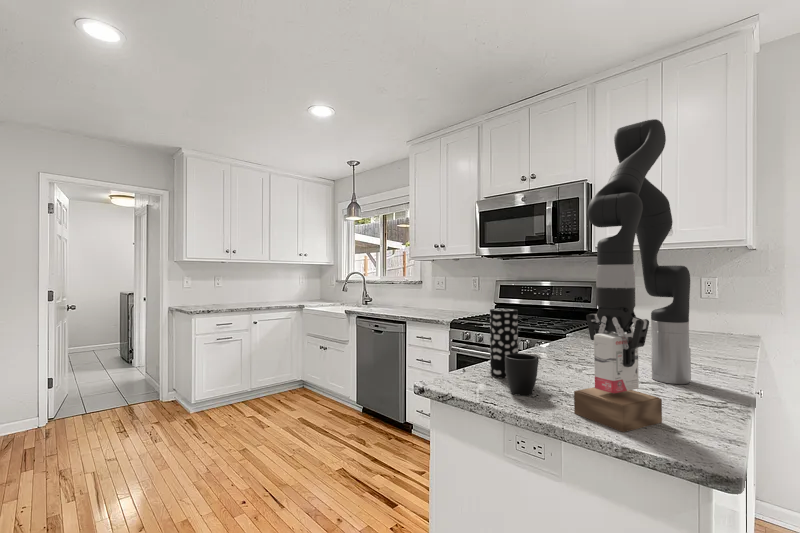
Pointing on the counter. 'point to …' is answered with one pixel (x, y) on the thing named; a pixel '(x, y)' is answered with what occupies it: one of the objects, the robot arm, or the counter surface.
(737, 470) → the counter surface
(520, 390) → the mug
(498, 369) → the white-spotted black cylinder
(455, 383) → the counter surface
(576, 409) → the brown flat block
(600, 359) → the ink box
